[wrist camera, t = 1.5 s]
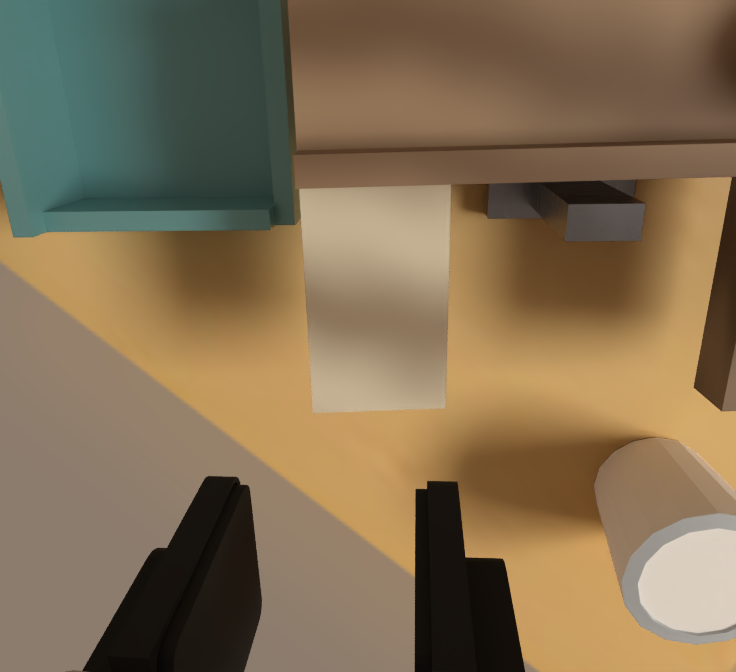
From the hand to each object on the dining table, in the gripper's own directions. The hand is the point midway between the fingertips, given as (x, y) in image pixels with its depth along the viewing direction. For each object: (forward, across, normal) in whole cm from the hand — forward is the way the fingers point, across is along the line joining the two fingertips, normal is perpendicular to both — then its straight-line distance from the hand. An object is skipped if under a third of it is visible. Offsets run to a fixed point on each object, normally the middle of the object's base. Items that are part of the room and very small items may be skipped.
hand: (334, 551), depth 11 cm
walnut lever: (+14, -7, -4) cm, 16 cm away
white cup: (+19, -14, +12) cm, 26 cm away
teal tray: (+19, +9, -8) cm, 23 cm away
